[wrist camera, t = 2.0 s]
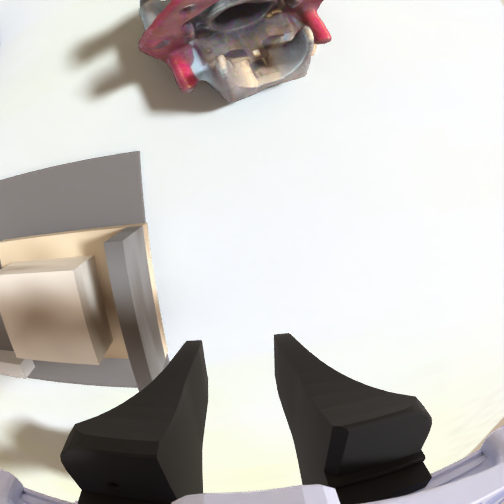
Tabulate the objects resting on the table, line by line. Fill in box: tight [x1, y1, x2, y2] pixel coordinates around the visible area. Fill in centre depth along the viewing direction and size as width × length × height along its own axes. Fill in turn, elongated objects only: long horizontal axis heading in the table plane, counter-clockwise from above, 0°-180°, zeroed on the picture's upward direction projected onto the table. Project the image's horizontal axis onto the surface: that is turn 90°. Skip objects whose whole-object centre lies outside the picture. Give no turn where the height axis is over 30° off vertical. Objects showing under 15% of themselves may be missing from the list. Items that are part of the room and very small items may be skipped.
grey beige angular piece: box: [0, 223, 168, 392], centre depth 17 cm, size 9×12×6 cm
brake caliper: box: [138, 0, 331, 102], centre depth 13 cm, size 11×11×12 cm
